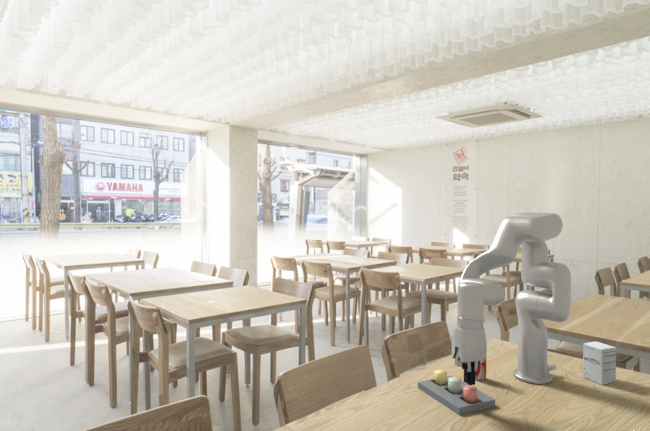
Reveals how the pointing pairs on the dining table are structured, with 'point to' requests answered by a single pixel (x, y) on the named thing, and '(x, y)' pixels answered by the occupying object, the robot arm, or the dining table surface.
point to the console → (455, 397)
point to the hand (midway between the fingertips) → (469, 383)
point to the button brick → (470, 394)
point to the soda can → (481, 371)
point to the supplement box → (599, 362)
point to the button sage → (454, 385)
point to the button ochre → (440, 377)
